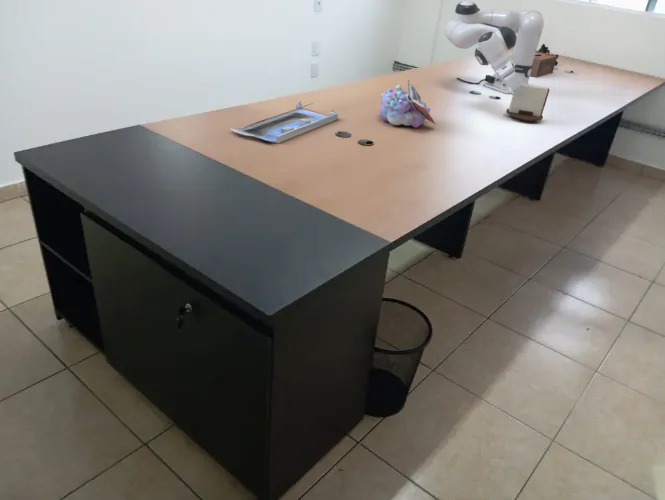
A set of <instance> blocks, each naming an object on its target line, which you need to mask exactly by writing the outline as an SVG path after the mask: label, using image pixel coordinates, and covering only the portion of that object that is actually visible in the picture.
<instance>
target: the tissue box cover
mask: <svg viewBox="0 0 665 500" xmlns="http://www.w3.org/2000/svg"><path fill="white" fill-rule="evenodd" d="M555 55H556V54H550V53H549V54H548V53H542V52H538V51H537V50H536V53H535V56H534V60H533V64H532V66H533V67H532V71H531V74H530V77H533V78H539V77H542V76H546V75H549V74H553V72H554V69H555V66H556V65H555V63H556V61H557V59H558V58H557V56H555Z"/></svg>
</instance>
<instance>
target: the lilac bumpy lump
mask: <svg viewBox="0 0 665 500" xmlns="http://www.w3.org/2000/svg"><path fill="white" fill-rule="evenodd" d="M407 88H408V90H407V91H408V92H407V91H406V90H404V89H403V88H402V86H401V84H397V85H396V86H395V90H393V88H392V87H391V88H390V87H389V89H387V91H384V92H382V93H381V94H380V98H381V99H380V105H381V106H380V108H379V116H380V118H381V119H382V120H383V121H384V122H386V123H387V122H389V124H391V125H392V126H401V125H403V126H405V127H413V128H414V129H415V128H419V127H420V125H422V124H424V123H425V121H426V120H427V121H428V122H430V123H432V124H434V125H436V121H435V120H434V118H433V116H432V115H431V107H427V103H426V102H424V101H422V98H421V95H420V94H419V93H418V91H417V90H416V88H415V87H414V86H413V84H412V83H411V81H410V79H407Z"/></svg>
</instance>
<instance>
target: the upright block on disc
mask: <svg viewBox="0 0 665 500" xmlns="http://www.w3.org/2000/svg"><path fill="white" fill-rule="evenodd" d="M521 90H522V91H523V93H524V94H523V95H521V96H520V95H519V93H518V92H517V91H515V92H514V91H513V94H511V95H512V96H511V99H510V103H509V106H508V108H507V109H506V110H505V113H506V114H507V115H508V116H509V117H510V116H512V117H515V118H518V119H522V120H528V121H537V122H538V121H542V120H543V119H544V116H543V113H544V110H545V107H546V103H547V100H548V96H549V93H550V91H551V89H550V87H545V86H538V85H532V84H528V85H526V84H521Z"/></svg>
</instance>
